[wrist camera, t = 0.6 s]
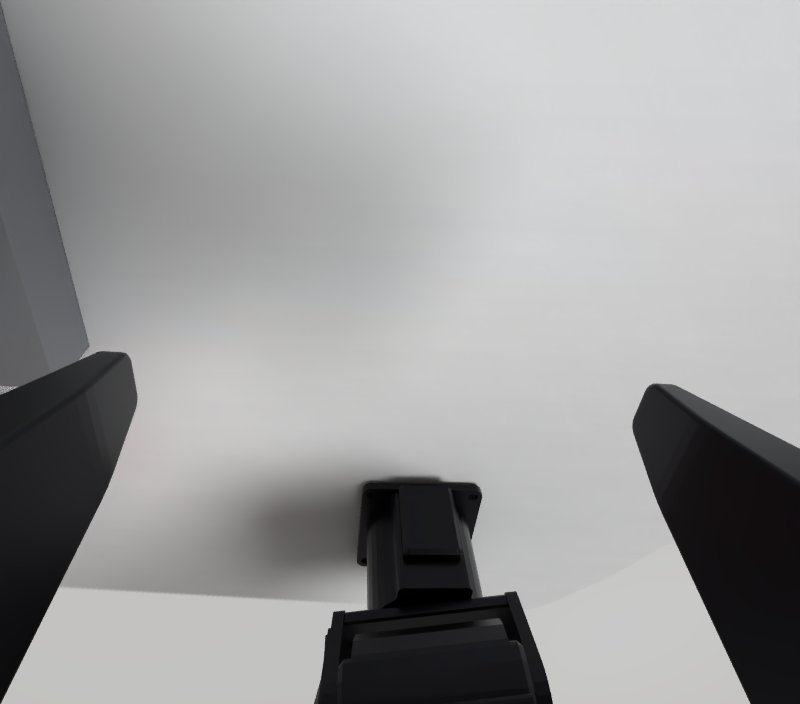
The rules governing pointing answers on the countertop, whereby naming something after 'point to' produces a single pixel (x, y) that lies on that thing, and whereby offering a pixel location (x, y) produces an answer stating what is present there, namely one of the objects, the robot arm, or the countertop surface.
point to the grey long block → (30, 249)
